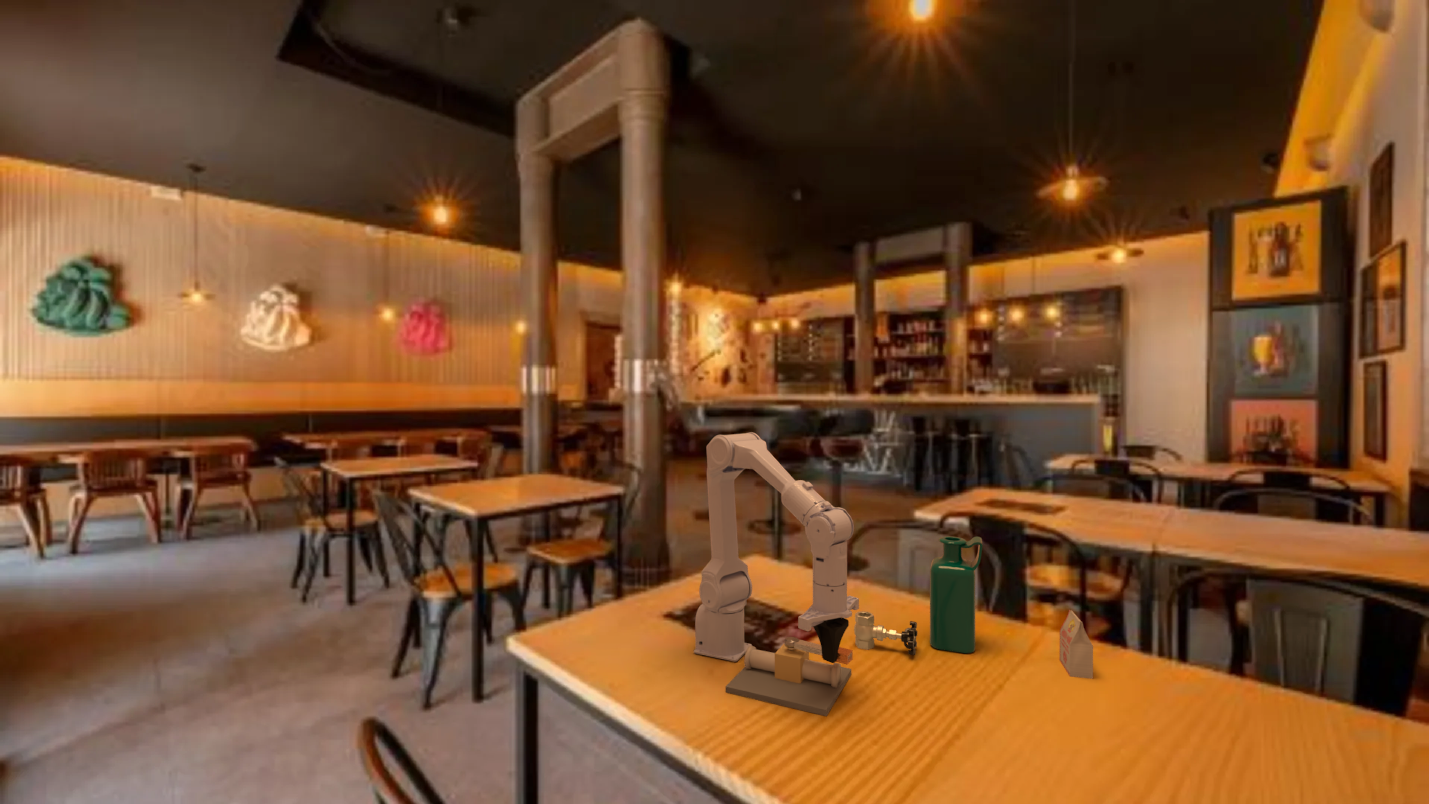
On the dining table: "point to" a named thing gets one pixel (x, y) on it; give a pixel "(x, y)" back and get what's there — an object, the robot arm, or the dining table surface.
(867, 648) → the valve
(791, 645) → the valve lever
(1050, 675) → the dining table surface
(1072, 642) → the milk carton
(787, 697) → the pipe board
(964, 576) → the pitcher
